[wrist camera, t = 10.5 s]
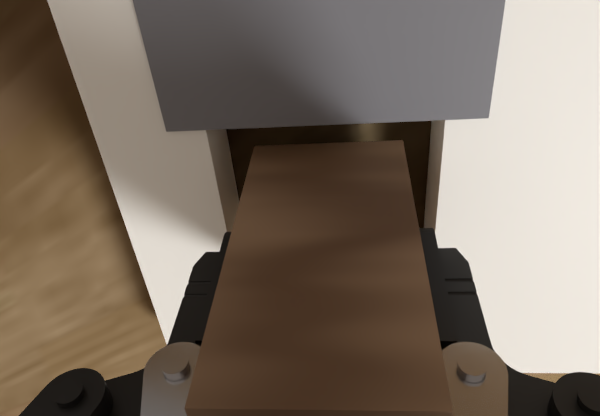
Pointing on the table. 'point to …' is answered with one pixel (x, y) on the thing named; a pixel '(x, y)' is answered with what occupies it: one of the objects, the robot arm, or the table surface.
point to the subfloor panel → (357, 110)
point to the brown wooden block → (323, 292)
